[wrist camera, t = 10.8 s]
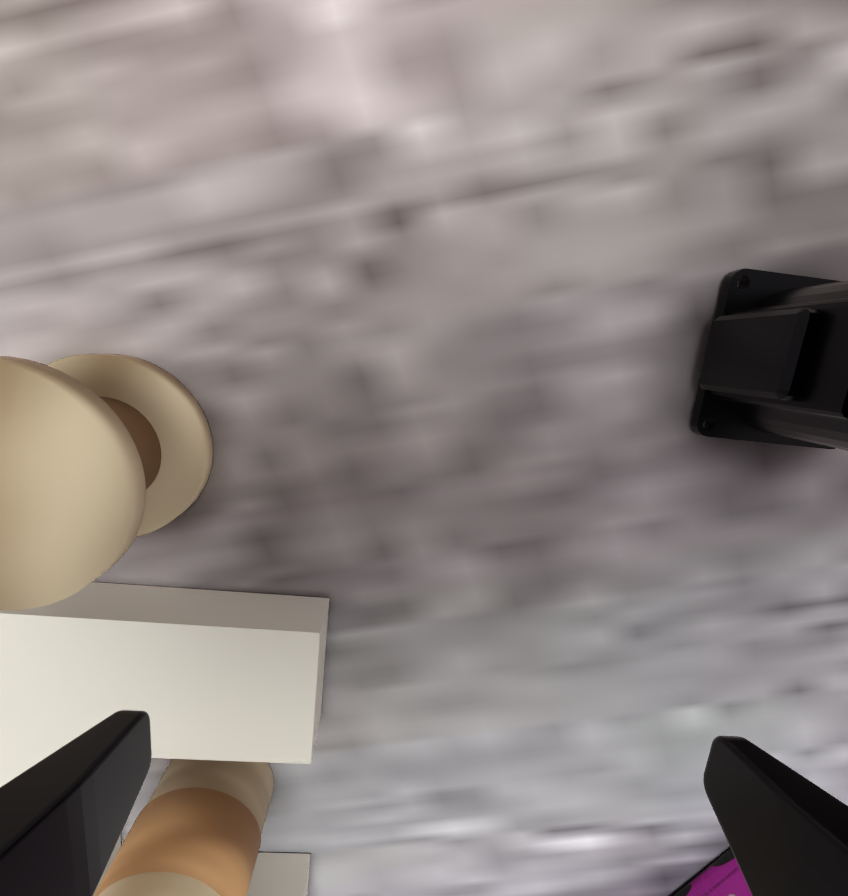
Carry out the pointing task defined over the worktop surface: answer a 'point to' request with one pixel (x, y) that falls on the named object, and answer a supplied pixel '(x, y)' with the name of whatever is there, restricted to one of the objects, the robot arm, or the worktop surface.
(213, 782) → the copper spool
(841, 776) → the worktop surface
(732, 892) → the candy bar box
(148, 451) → the bobbin
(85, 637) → the notched board
